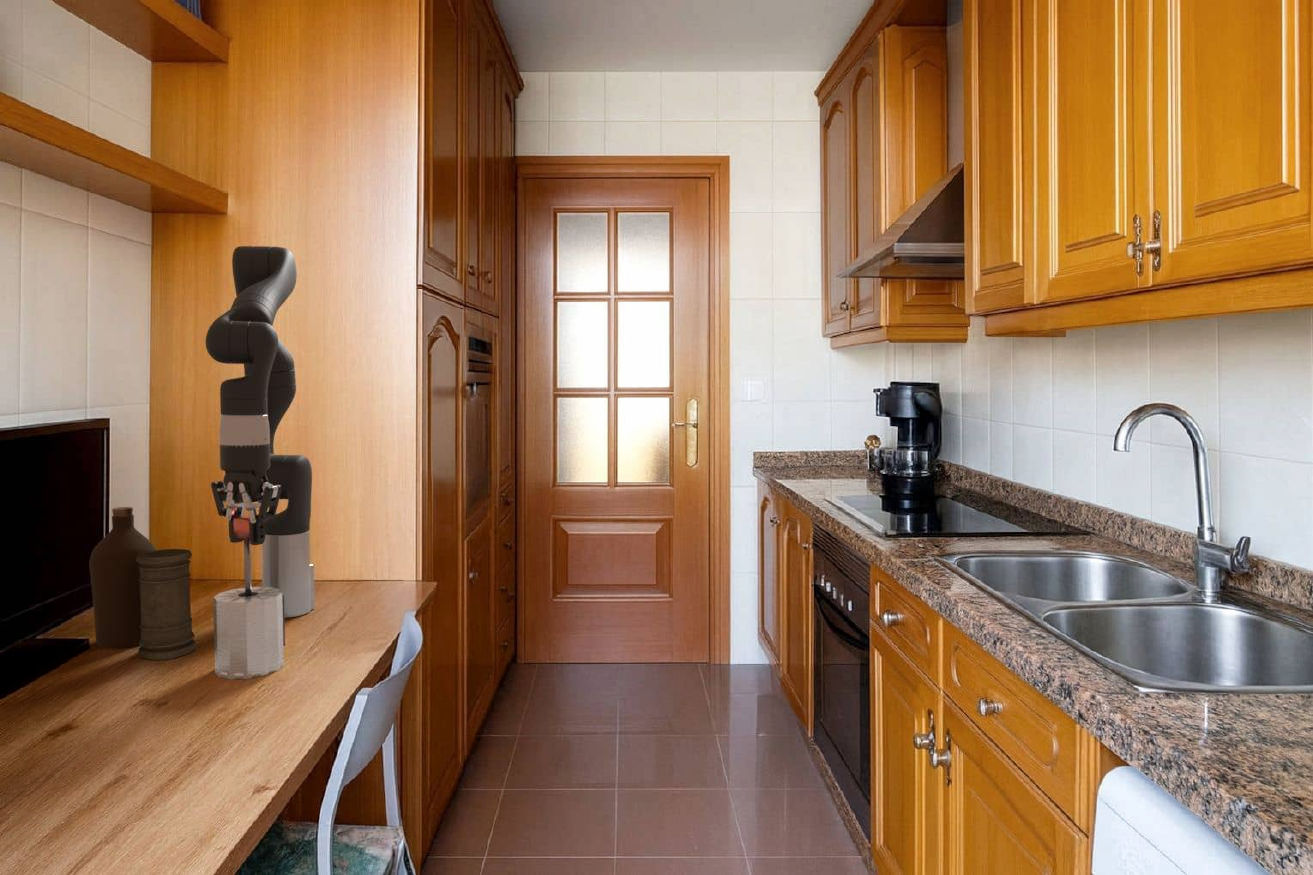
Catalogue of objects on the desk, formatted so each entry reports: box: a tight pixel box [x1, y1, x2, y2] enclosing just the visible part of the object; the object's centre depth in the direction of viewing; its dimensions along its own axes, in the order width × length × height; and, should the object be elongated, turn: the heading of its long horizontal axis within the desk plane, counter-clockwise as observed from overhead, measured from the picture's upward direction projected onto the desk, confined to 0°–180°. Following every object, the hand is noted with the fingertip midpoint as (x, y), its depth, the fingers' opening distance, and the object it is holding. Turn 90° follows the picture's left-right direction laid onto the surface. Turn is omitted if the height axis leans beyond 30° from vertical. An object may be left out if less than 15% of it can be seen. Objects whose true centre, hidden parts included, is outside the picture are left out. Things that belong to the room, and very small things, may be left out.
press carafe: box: [213, 586, 286, 680], centre depth 139 cm, size 12×10×13 cm
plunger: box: [233, 515, 252, 597], centre depth 137 cm, size 7×7×17 cm
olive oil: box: [88, 506, 157, 650], centre depth 150 cm, size 11×11×25 cm
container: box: [136, 548, 197, 661], centre depth 145 cm, size 9×9×18 cm
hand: (247, 542), depth 137 cm, fingers closed on plunger, 4 cm apart
